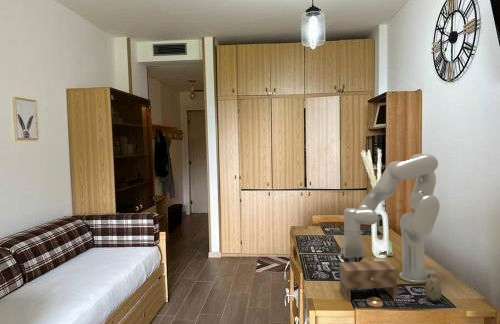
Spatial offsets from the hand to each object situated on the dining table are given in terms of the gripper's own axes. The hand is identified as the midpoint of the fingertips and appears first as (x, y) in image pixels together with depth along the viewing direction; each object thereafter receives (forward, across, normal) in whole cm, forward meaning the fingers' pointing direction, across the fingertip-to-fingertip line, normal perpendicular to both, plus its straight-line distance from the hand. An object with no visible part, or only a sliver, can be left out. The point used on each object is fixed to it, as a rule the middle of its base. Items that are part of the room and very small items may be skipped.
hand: (352, 270), depth 155 cm
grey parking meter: (+3, 0, +6) cm, 7 cm away
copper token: (+4, +1, +26) cm, 27 cm away
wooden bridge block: (+4, 0, +18) cm, 18 cm away
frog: (+4, -31, -31) cm, 44 cm away
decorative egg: (+4, -24, +27) cm, 36 cm away
